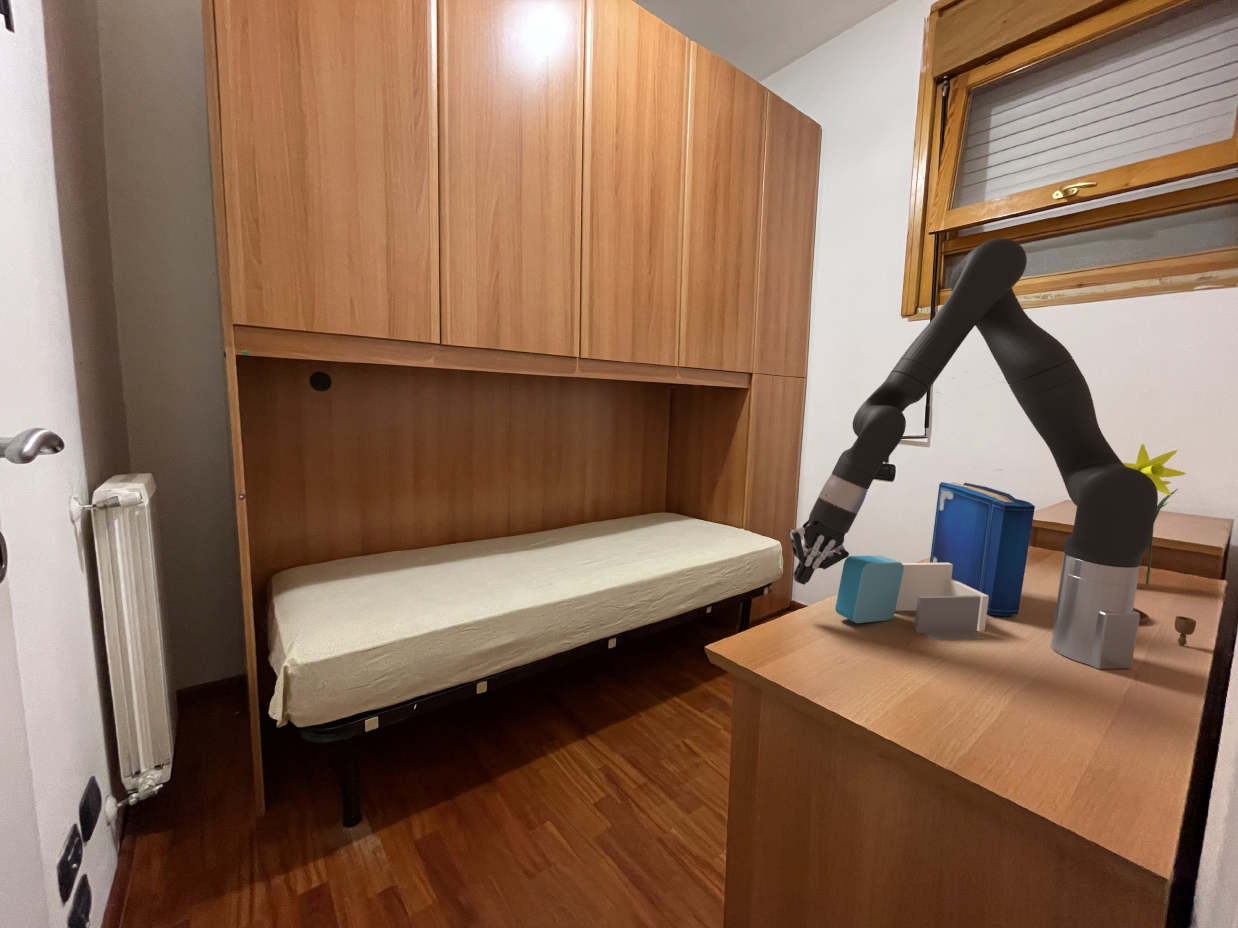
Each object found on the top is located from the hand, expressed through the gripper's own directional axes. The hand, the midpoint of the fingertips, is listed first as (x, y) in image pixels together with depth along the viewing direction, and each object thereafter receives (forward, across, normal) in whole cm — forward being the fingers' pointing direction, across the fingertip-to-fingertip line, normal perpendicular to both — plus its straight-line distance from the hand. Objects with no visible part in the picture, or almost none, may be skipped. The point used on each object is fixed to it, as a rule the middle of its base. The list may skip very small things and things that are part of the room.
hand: (799, 581), depth 97 cm
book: (-8, +44, +7) cm, 45 cm away
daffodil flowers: (-24, +88, +14) cm, 92 cm away
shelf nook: (-3, +28, -3) cm, 28 cm away
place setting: (-16, +64, -5) cm, 66 cm away
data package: (+2, +15, -2) cm, 15 cm away
